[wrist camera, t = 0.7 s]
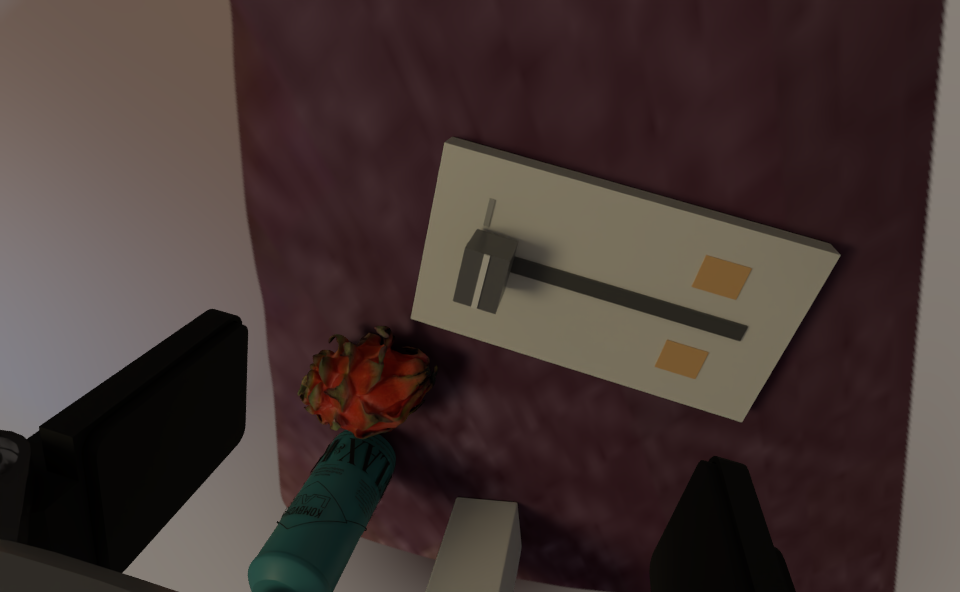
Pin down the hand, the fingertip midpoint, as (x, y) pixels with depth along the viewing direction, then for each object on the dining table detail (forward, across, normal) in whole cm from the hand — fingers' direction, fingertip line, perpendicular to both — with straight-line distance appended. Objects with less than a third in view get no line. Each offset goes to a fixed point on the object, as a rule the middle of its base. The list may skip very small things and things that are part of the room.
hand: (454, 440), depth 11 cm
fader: (+28, +3, +8) cm, 29 cm away
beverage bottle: (+32, +10, +30) cm, 45 cm away
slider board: (+31, -5, +8) cm, 32 cm away
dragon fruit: (+31, +10, +20) cm, 39 cm away
